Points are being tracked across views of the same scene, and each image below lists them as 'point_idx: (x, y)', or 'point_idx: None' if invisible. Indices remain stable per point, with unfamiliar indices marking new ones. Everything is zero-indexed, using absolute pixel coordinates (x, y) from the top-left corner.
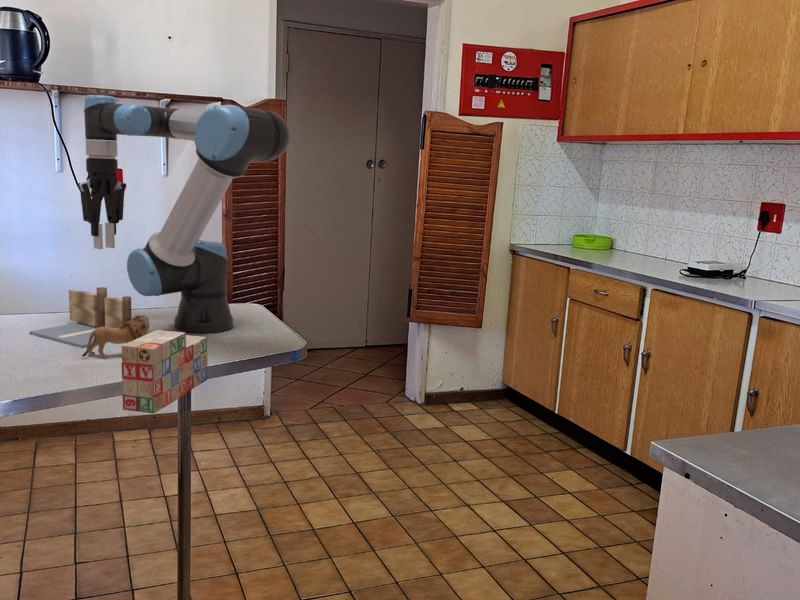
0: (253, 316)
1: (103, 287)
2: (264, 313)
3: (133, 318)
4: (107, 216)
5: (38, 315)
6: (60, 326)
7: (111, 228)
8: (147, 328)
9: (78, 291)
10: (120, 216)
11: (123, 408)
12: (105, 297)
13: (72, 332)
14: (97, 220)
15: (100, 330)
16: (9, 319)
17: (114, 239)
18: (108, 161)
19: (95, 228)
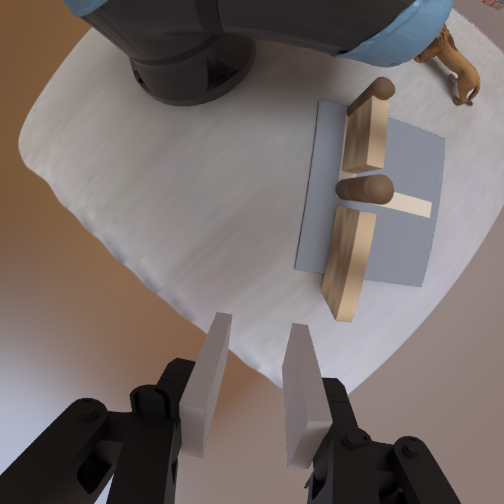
0: (82, 63)
1: (369, 193)
2: (58, 71)
3: (444, 26)
4: (175, 486)
5: None
6: (372, 274)
7: (213, 385)
8: None
9: (355, 289)
10: (85, 423)
11: (498, 9)
12: (381, 166)
13: (398, 217)
14: (356, 448)
15: (477, 72)
16: (348, 389)
17: (208, 334)
18: None
19: (345, 412)
